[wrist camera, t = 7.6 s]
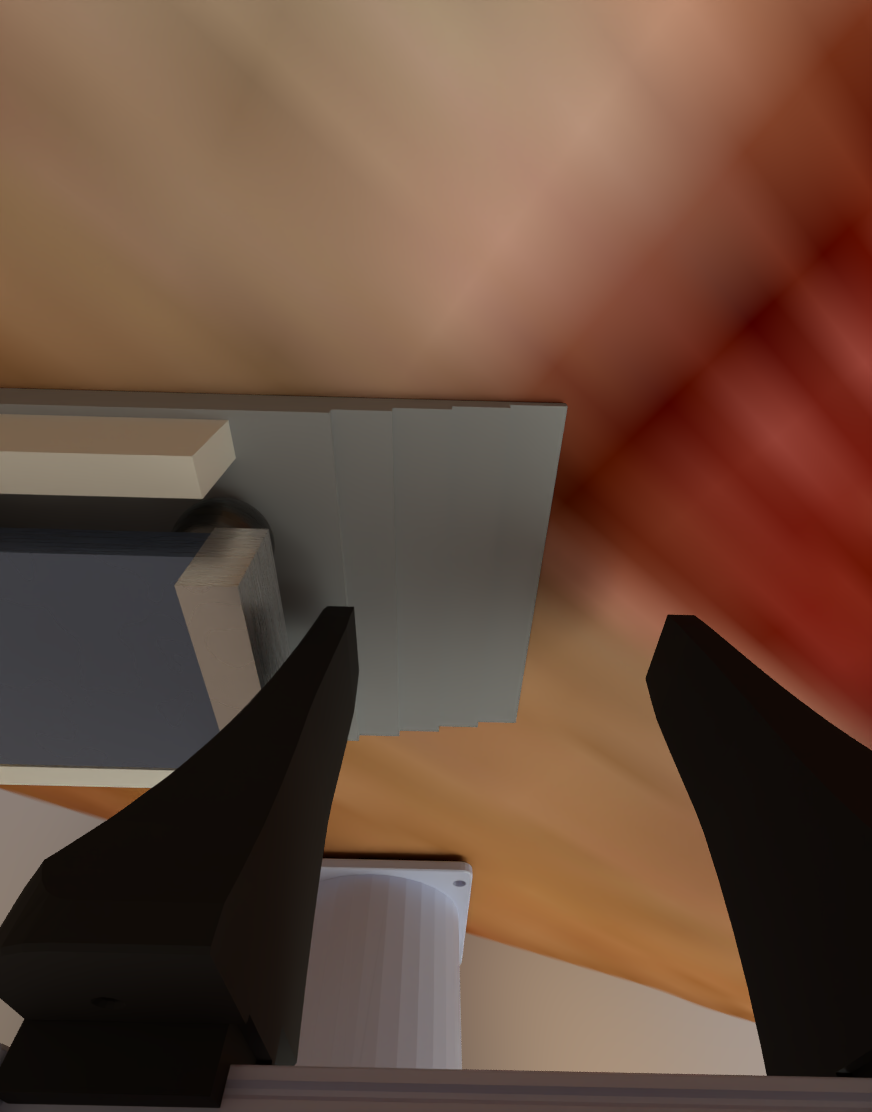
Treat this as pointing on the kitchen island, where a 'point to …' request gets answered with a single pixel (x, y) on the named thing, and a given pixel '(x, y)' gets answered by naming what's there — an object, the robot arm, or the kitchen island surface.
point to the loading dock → (321, 525)
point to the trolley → (135, 637)
